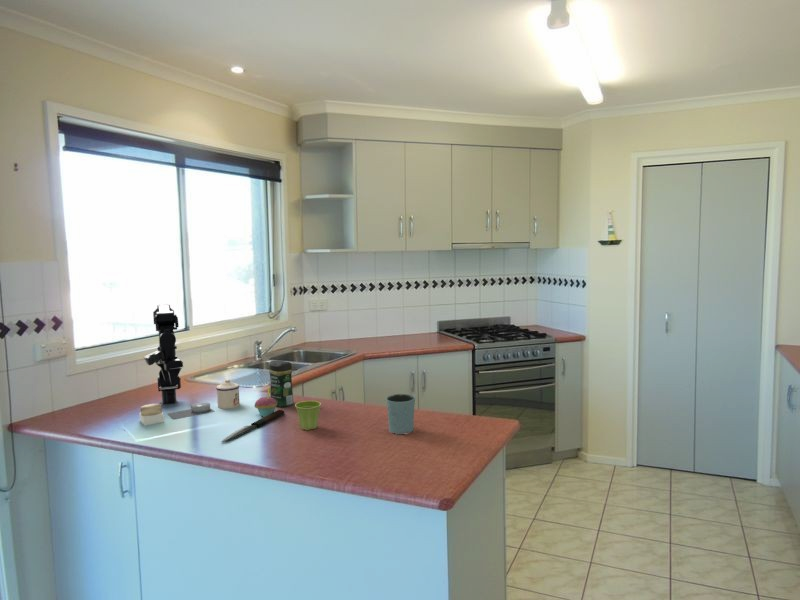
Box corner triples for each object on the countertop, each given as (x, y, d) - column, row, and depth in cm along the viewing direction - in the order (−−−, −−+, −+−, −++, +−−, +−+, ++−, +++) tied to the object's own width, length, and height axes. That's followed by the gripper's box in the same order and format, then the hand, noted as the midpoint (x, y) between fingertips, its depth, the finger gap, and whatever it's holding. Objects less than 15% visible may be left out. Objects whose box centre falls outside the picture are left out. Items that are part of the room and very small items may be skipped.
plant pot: (326, 424, 205) (325, 401, 204) (314, 432, 196) (313, 408, 195) (303, 422, 208) (303, 399, 207) (290, 430, 199) (290, 406, 198)
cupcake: (282, 413, 220) (280, 383, 219) (268, 419, 213) (266, 388, 211) (264, 411, 224) (263, 381, 223) (250, 417, 216) (249, 386, 215)
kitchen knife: (273, 408, 220) (284, 409, 219) (273, 414, 221) (284, 415, 219) (214, 438, 187) (227, 439, 186) (215, 444, 187) (227, 445, 186)
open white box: (139, 423, 212) (139, 412, 211) (159, 419, 216) (158, 409, 215) (144, 427, 206) (143, 417, 206) (164, 423, 210) (163, 413, 210)
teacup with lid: (238, 409, 227) (237, 381, 225) (215, 411, 225) (213, 382, 224) (242, 402, 238) (241, 375, 237) (220, 403, 237) (219, 376, 236)
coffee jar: (267, 404, 233) (265, 360, 232) (282, 400, 239) (280, 357, 238) (281, 408, 227) (279, 363, 225) (296, 404, 233) (295, 360, 231)
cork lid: (138, 413, 211) (138, 406, 211) (158, 409, 216) (158, 402, 215) (144, 417, 205) (143, 410, 205) (164, 413, 210) (163, 406, 210)
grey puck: (187, 411, 223) (187, 405, 223) (203, 406, 229) (203, 401, 229) (197, 414, 219) (197, 408, 219) (214, 409, 224) (213, 404, 224)
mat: (166, 415, 221) (166, 413, 221) (206, 408, 230) (206, 406, 230) (173, 421, 213) (173, 419, 213) (215, 413, 222) (215, 411, 222)
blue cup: (412, 425, 202) (411, 392, 201) (418, 434, 192) (418, 400, 191) (384, 427, 200) (383, 395, 199) (390, 437, 190) (389, 402, 189)
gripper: (139, 343, 222) (142, 381, 223) (151, 349, 207) (153, 390, 208) (168, 340, 228) (171, 377, 230) (182, 345, 214) (184, 385, 215)
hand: (169, 382), depth 221 cm, fingers open, 9 cm apart
